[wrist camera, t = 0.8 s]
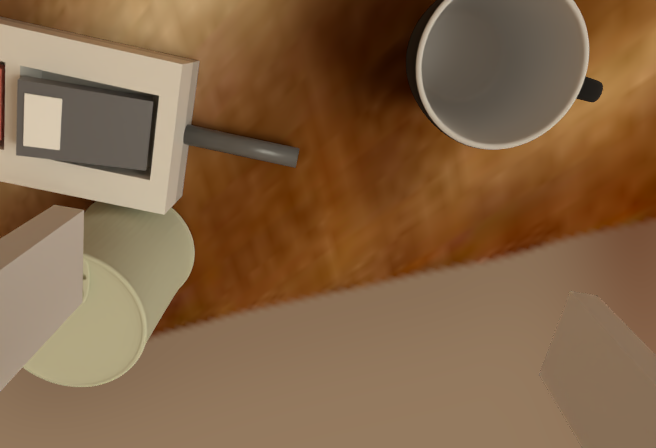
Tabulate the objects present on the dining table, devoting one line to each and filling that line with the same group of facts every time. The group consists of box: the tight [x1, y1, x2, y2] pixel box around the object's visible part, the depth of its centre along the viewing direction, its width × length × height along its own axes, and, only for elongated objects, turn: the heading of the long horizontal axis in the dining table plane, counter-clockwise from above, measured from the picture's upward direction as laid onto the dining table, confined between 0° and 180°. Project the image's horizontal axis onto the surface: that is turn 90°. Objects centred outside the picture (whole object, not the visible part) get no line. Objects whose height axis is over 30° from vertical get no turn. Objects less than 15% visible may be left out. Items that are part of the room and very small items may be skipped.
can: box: [23, 201, 195, 387], centre depth 36 cm, size 9×9×12 cm
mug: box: [406, 0, 603, 150], centre depth 32 cm, size 12×9×10 cm
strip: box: [0, 17, 299, 215], centre depth 36 cm, size 38×10×5 cm, turn 78°
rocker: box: [16, 76, 153, 171], centre depth 34 cm, size 8×5×2 cm, turn 77°
